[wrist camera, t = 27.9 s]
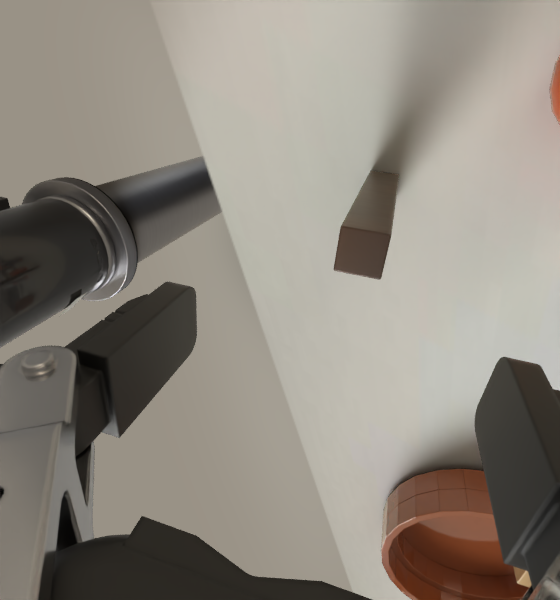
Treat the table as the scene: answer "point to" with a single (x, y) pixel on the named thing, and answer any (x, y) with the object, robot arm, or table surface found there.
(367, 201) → the stick
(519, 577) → the block
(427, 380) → the table surface
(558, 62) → the tomato
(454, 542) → the bowl
